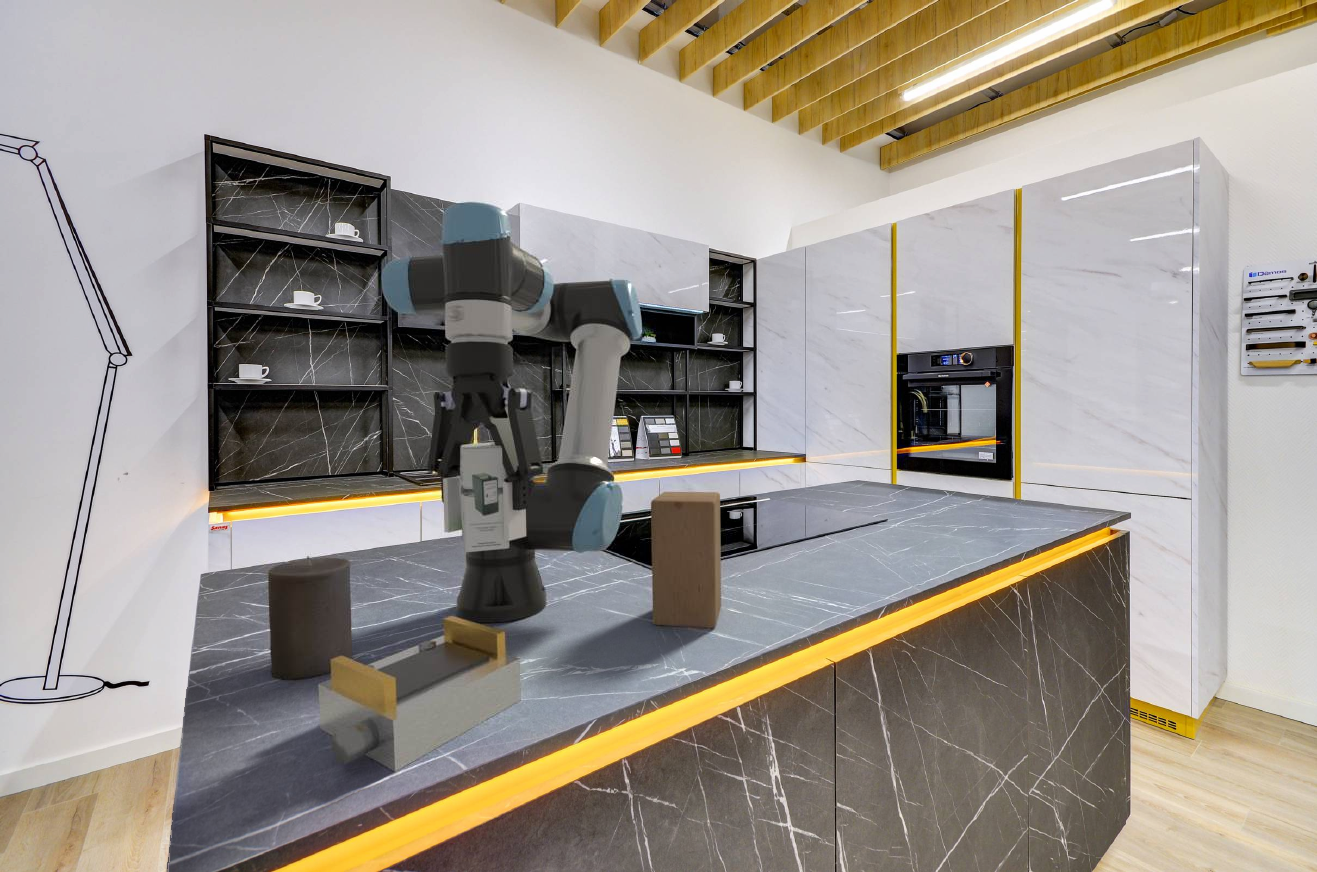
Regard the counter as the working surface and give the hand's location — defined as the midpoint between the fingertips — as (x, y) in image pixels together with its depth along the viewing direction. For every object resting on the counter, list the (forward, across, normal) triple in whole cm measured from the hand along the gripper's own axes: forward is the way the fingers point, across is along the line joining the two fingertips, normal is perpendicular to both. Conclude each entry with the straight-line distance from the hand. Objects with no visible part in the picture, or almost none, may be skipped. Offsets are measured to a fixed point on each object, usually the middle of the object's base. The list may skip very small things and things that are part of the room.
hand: (484, 534), depth 68 cm
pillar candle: (+20, -29, -5) cm, 35 cm away
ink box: (+1, 0, 0) cm, 1 cm away
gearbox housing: (+20, -4, -8) cm, 22 cm away
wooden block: (+20, +8, +36) cm, 41 cm away
